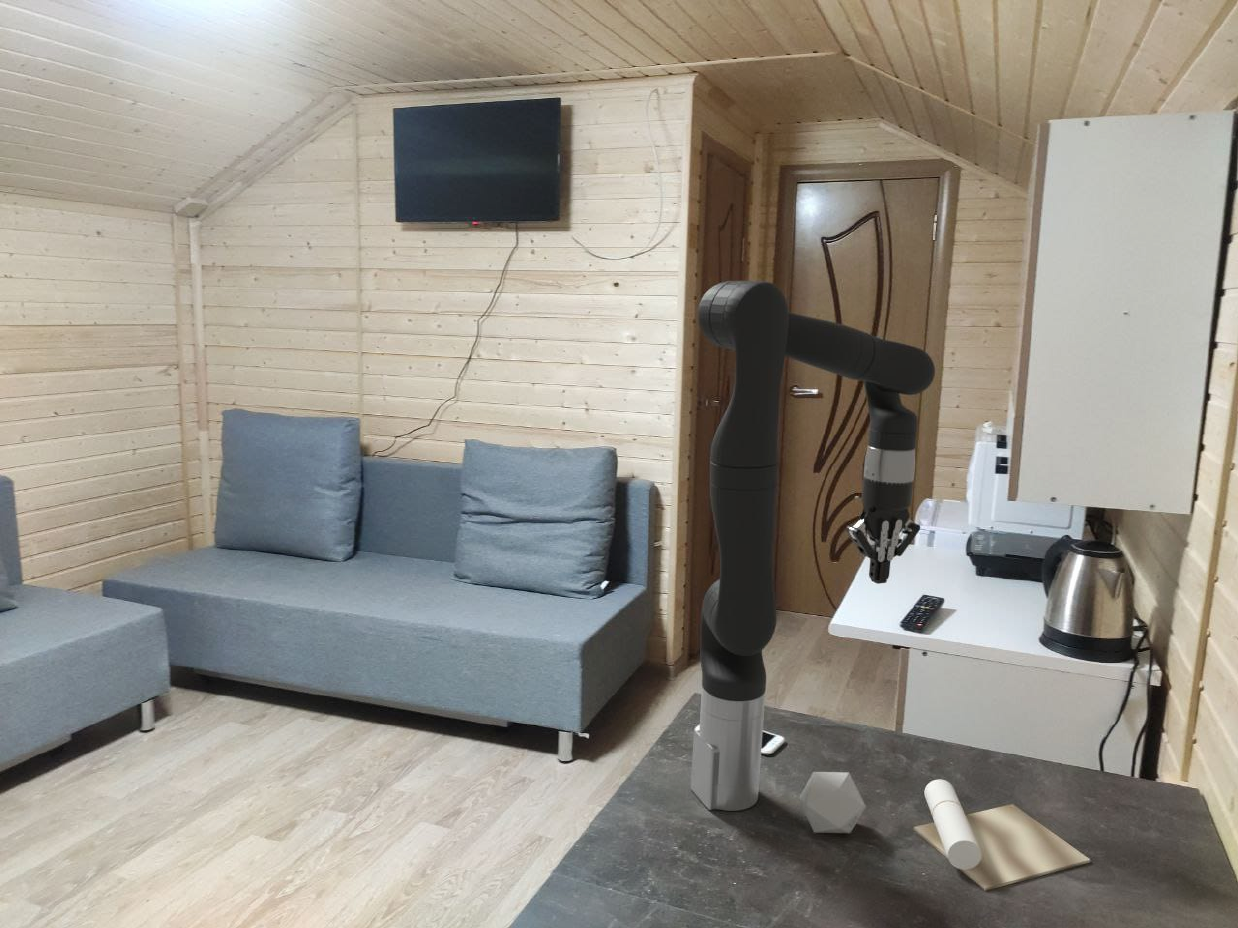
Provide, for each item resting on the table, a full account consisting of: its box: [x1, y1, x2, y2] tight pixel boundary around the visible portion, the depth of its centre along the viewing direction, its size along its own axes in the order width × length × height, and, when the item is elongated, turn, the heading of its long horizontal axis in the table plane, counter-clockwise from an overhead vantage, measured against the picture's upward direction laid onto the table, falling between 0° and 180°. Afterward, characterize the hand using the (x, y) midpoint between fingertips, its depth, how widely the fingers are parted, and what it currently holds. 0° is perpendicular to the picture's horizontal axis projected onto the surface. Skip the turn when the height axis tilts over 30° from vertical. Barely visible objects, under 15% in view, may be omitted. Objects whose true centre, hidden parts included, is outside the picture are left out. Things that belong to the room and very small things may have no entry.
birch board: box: [913, 804, 1091, 892], centre depth 129 cm, size 18×14×1 cm
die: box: [798, 771, 867, 834], centre depth 131 cm, size 8×9×10 cm
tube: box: [924, 779, 982, 870], centre depth 130 cm, size 4×4×15 cm
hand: (878, 581), depth 148 cm, fingers closed
